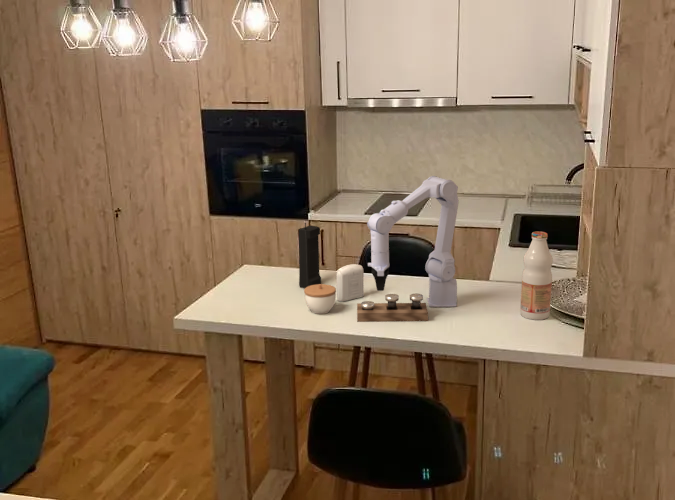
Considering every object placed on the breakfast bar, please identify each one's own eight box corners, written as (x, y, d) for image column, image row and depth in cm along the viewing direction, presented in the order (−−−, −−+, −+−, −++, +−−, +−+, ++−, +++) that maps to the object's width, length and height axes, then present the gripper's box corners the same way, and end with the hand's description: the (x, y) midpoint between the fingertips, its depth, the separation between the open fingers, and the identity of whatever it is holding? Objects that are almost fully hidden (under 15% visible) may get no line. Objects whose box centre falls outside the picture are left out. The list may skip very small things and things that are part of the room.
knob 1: (374, 313, 243) (374, 300, 241) (374, 318, 238) (374, 305, 237) (361, 313, 243) (361, 301, 241) (361, 318, 238) (361, 305, 237)
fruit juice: (515, 316, 238) (519, 234, 230) (526, 308, 245) (531, 228, 237) (543, 322, 233) (548, 238, 225) (553, 313, 240) (559, 231, 232)
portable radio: (310, 281, 277) (308, 217, 270) (323, 284, 273) (321, 219, 266) (297, 287, 271) (295, 222, 264) (310, 290, 267) (308, 224, 260)
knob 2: (422, 305, 241) (422, 293, 240) (423, 310, 237) (423, 297, 236) (409, 305, 241) (409, 293, 240) (410, 310, 237) (410, 298, 236)
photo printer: (358, 293, 263) (358, 261, 259) (365, 296, 259) (365, 263, 256) (334, 299, 257) (334, 266, 254) (341, 302, 254) (341, 269, 250)
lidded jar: (337, 305, 252) (336, 279, 249) (335, 316, 241) (334, 289, 239) (306, 305, 252) (305, 279, 250) (303, 316, 242) (302, 289, 239)
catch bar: (425, 311, 244) (425, 302, 243) (427, 321, 236) (428, 312, 235) (357, 311, 245) (357, 303, 244) (357, 321, 236) (357, 313, 236)
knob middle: (398, 306, 242) (398, 293, 240) (399, 310, 237) (399, 298, 236) (385, 306, 242) (385, 293, 241) (385, 310, 238) (385, 298, 236)
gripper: (367, 244, 241) (368, 283, 245) (367, 257, 227) (368, 298, 231) (388, 244, 241) (389, 282, 245) (390, 256, 227) (390, 297, 231)
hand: (380, 290), depth 238 cm, fingers closed
